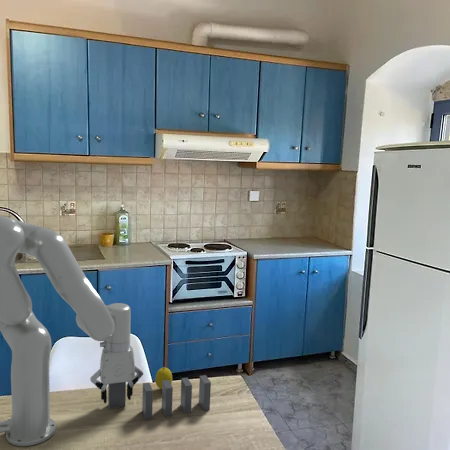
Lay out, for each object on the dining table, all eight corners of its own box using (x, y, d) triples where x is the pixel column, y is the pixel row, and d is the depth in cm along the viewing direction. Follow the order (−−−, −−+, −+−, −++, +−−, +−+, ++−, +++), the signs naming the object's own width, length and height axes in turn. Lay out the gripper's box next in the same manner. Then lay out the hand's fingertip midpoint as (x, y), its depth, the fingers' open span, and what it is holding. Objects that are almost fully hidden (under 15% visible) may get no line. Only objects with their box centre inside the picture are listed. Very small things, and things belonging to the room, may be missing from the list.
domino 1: (125, 406, 141) (125, 378, 139) (108, 408, 139) (109, 381, 138) (124, 402, 143) (124, 375, 141) (108, 405, 141) (108, 377, 139)
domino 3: (165, 416, 136) (166, 388, 135) (161, 408, 141) (162, 380, 139) (171, 415, 137) (172, 387, 135) (167, 407, 141) (168, 379, 140)
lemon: (168, 395, 148) (169, 372, 147) (152, 392, 149) (153, 369, 148) (174, 387, 154) (174, 364, 152) (158, 384, 155) (159, 362, 153)
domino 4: (184, 413, 138) (185, 386, 137) (180, 405, 143) (181, 378, 141) (191, 412, 139) (192, 385, 138) (186, 404, 143) (187, 377, 142)
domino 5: (203, 410, 140) (204, 383, 139) (198, 402, 145) (199, 375, 144) (209, 409, 141) (210, 382, 140) (204, 401, 146) (205, 375, 144)
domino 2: (145, 419, 134) (145, 391, 133) (142, 410, 139) (142, 383, 137) (152, 418, 135) (152, 390, 133) (148, 409, 139) (149, 382, 138)
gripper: (88, 352, 131) (88, 410, 134) (148, 346, 137) (147, 401, 140) (86, 342, 138) (86, 397, 141) (143, 337, 144) (142, 389, 147)
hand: (116, 398), depth 140 cm, fingers open, 6 cm apart
